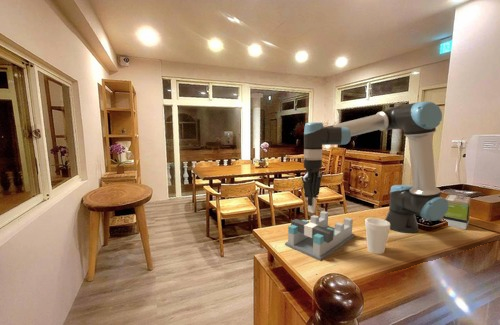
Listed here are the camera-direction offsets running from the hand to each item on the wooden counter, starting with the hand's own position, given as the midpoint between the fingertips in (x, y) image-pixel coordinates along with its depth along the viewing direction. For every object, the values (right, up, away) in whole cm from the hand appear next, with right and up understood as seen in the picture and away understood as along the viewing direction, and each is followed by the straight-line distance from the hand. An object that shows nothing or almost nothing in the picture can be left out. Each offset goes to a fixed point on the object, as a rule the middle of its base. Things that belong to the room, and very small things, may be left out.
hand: (311, 211), depth 102 cm
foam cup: (+28, -17, -1) cm, 32 cm away
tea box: (+88, -13, +27) cm, 92 cm away
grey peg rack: (+7, -15, +8) cm, 19 cm away
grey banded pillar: (0, -10, +1) cm, 10 cm away
